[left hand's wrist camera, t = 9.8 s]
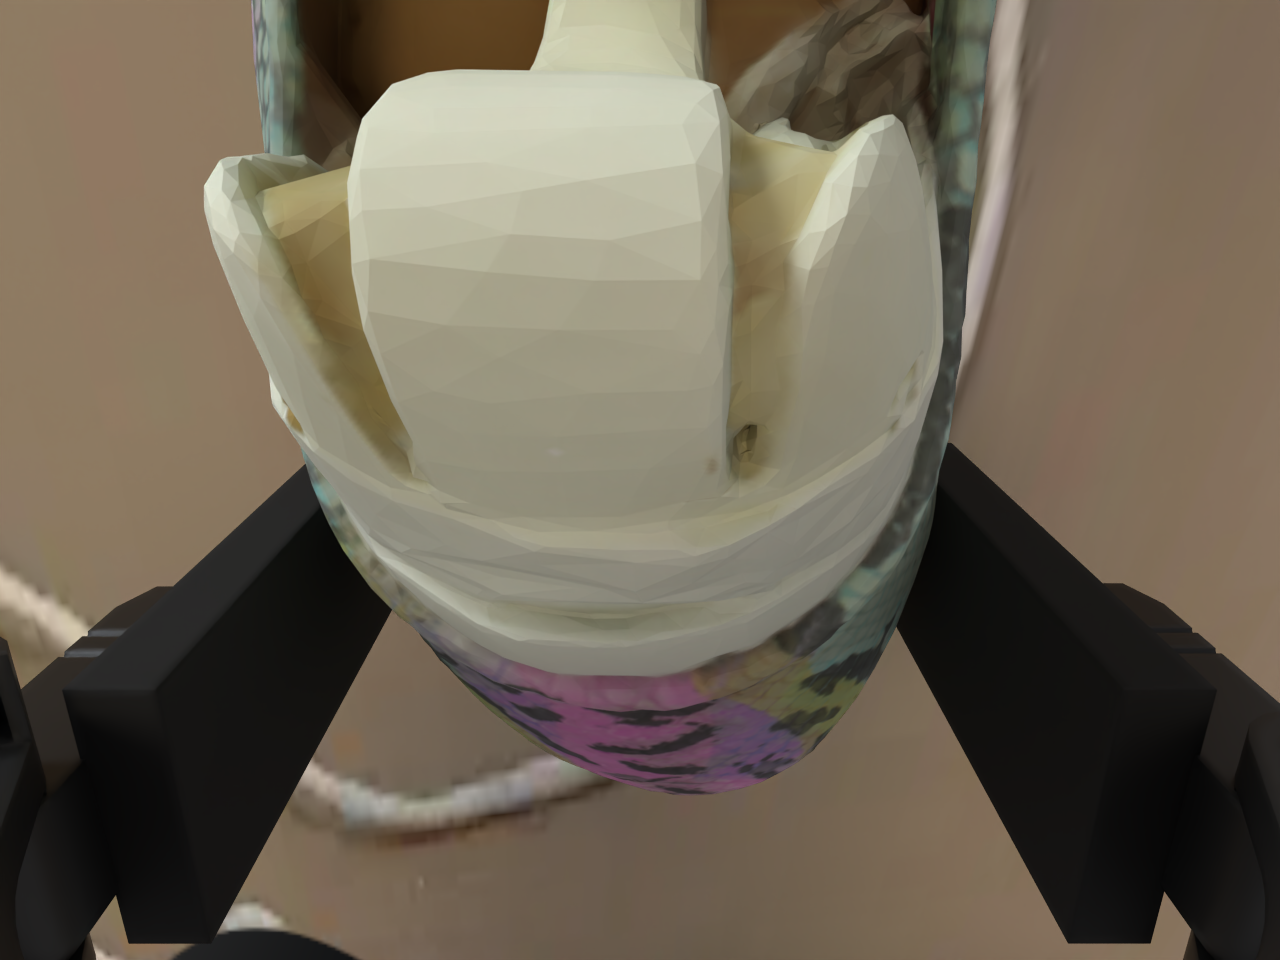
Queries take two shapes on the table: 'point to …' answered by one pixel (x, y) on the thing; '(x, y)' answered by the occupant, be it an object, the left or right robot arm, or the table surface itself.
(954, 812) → the table surface
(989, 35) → the multicolour fabric shoe
